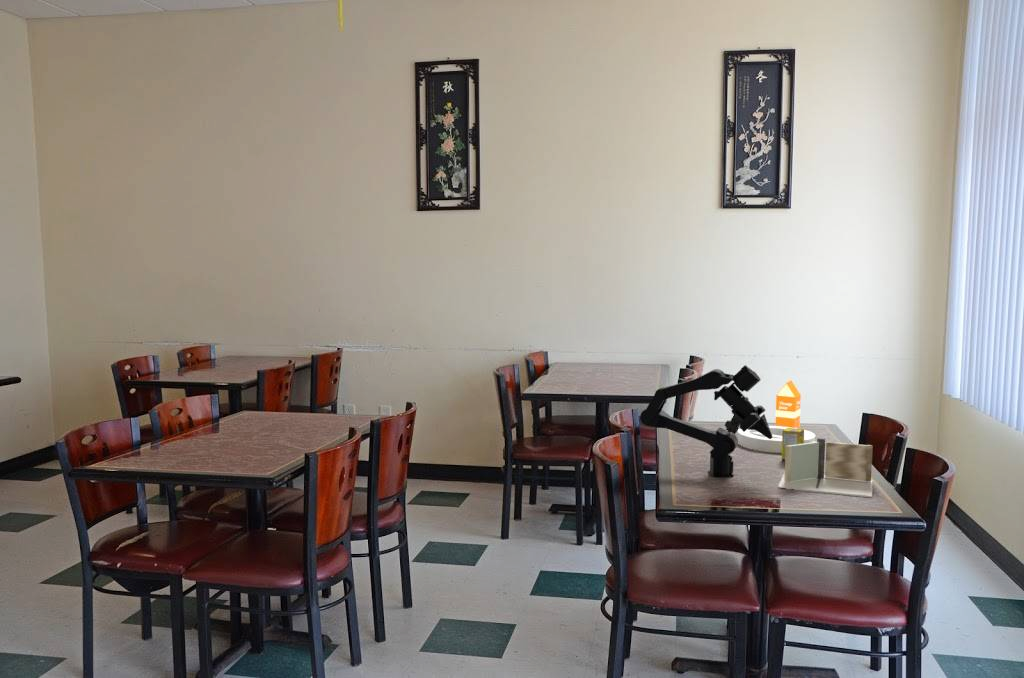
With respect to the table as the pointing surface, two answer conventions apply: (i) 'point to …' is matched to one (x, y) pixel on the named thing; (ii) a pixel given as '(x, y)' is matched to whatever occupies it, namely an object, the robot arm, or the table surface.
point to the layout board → (830, 486)
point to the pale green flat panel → (801, 461)
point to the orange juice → (788, 406)
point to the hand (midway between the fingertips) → (771, 438)
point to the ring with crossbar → (767, 439)
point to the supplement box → (791, 438)
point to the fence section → (845, 461)
